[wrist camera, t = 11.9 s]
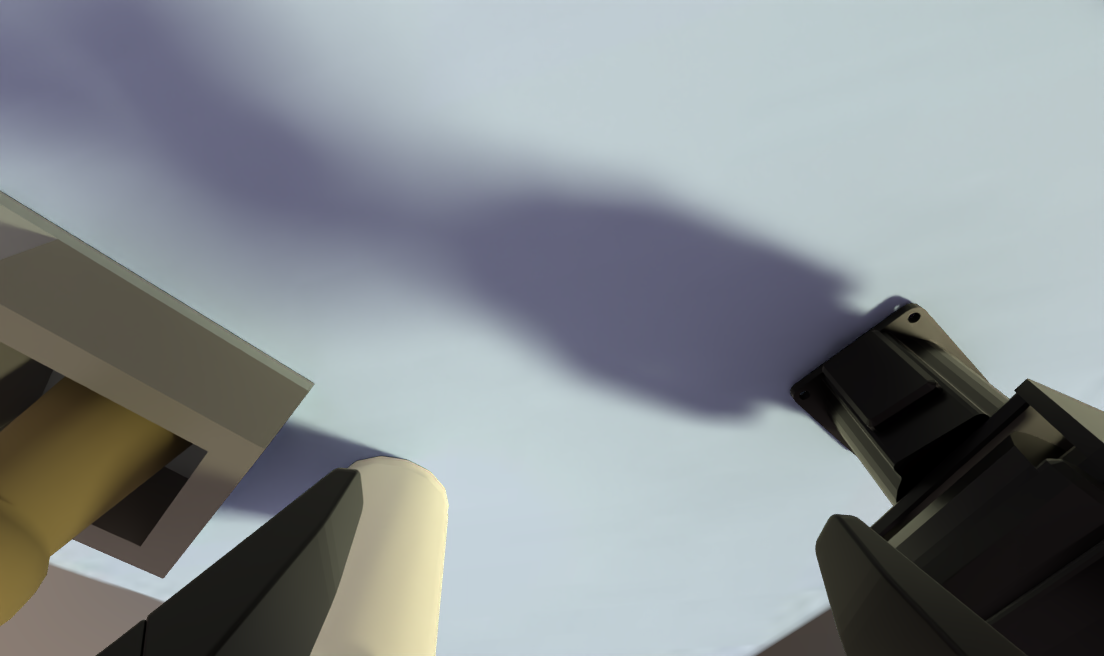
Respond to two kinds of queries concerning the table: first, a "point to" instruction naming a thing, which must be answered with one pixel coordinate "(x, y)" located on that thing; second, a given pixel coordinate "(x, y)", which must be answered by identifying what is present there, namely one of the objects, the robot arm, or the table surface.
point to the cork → (67, 477)
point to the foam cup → (391, 566)
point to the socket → (136, 379)
